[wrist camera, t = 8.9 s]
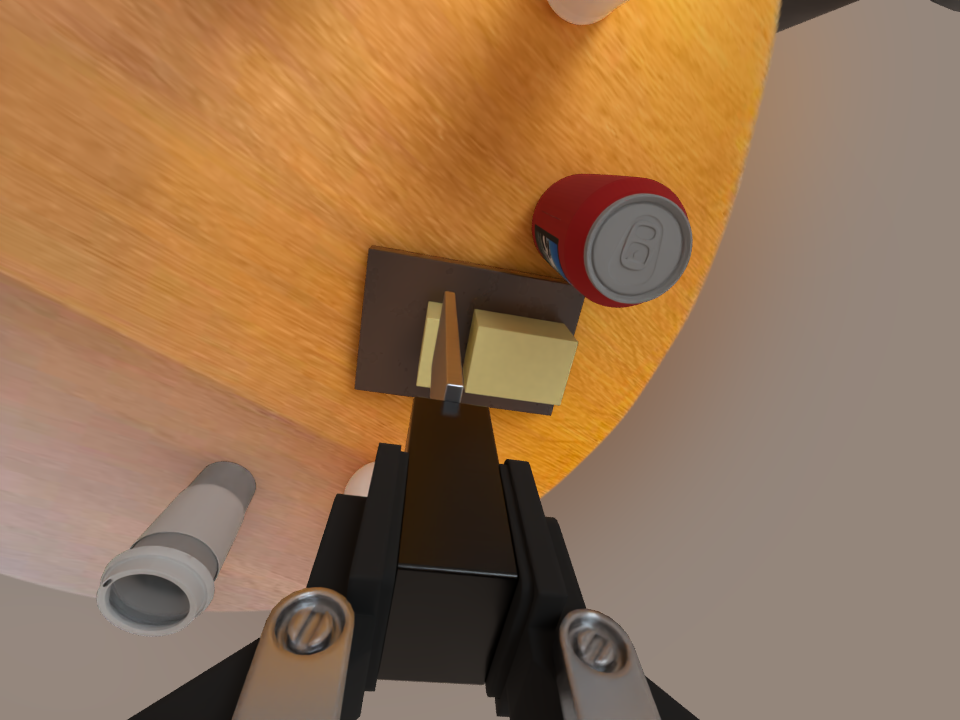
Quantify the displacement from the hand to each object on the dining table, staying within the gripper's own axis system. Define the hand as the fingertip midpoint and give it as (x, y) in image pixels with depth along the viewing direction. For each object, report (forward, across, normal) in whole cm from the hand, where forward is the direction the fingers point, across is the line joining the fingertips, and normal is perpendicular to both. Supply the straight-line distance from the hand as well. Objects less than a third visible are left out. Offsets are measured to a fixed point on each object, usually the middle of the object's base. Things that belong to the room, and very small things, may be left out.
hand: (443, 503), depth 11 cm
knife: (+13, 0, 0) cm, 13 cm away
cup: (+25, +15, +21) cm, 36 cm away
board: (+25, -3, +4) cm, 26 cm away
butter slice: (+24, 0, +4) cm, 24 cm away
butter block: (+24, -6, +4) cm, 25 cm away
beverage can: (+25, -9, -6) cm, 27 cm away
